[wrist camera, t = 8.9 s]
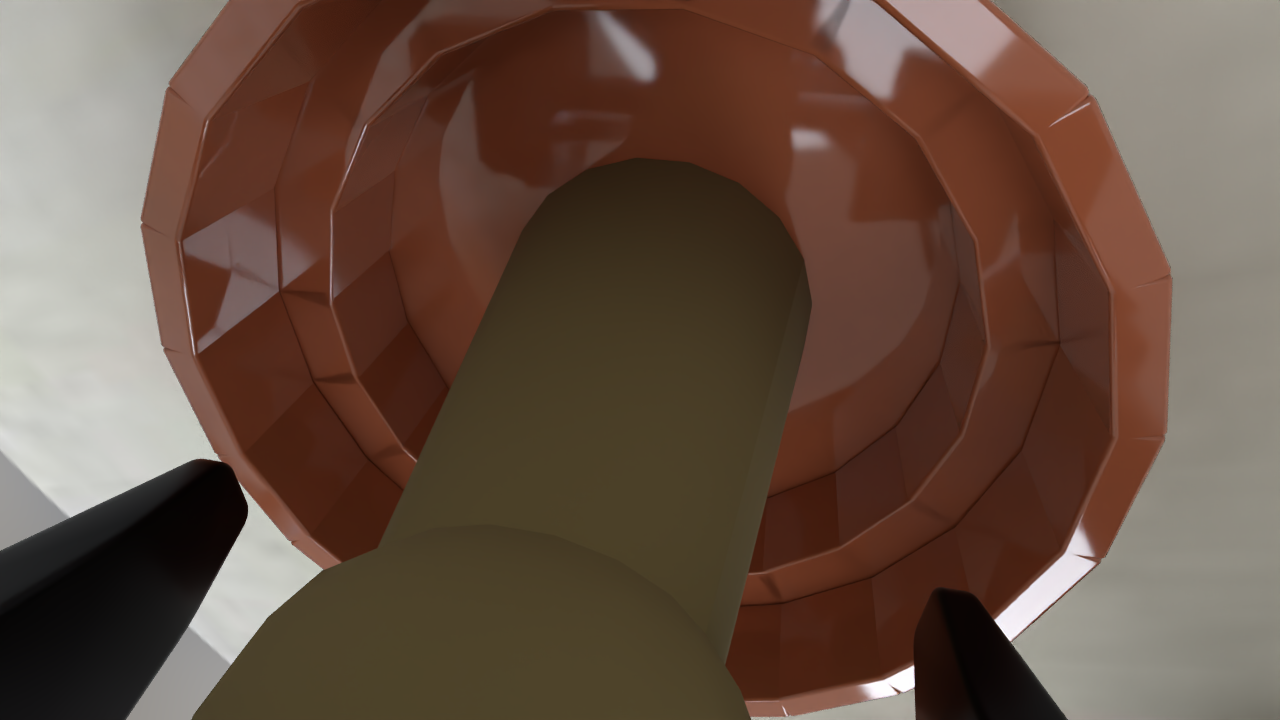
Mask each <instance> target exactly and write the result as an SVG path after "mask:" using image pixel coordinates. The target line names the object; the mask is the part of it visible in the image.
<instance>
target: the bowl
mask: <svg viewBox="0 0 1280 720" xmlns="http://www.w3.org/2000/svg"><path fill="white" fill-rule="evenodd" d="M633 158H646V159H657V160H669V161H681V162H690V163H692V164H695V165H697V166H699V167H702V168H704V169H707V170H709V171H711V172H714V173H716V174H719V175H721V176H723V177H726V178H728V179H731V180H733V181H735V182H738V183H740V184H741V185H742V186H743V187H744V188H746V189H747V190H748V191H749V192H750V193H751V194H753V195H754V196H755V197H756V198H757V199H758V200H760V201H761V202H762V203H763V204H764V205H765V206H767V207H768V208H769V209H770V210H771V211H772V212H774V213H775V214H776V215H777V216H778V217H779V218H780V220H781V221H782V223H783V225H784V226H785V228H786V230H787V231H788V233H789V235H790V236H791V238H792V240H793V241H794V243H795V245H796V247H797V248H798V250H799V252H800V253H801V255H802V257H803V258H804V261H805V267H806V272H807V278H808V283H809V289H810V294H811V299H812V308H811V314H810V319H809V324H808V329H807V335H806V340H805V345H804V349H803V353H802V357H801V362H800V366H799V370H798V374H797V378H796V382H795V386H794V390H793V394H792V398H791V402H790V406H789V410H788V414H787V418H786V422H785V426H784V430H783V434H782V438H781V442H780V446H779V450H778V454H777V458H776V462H775V466H774V470H773V474H772V478H771V482H770V486H769V491H768V495H767V499H766V503H765V507H764V511H763V515H762V519H761V523H760V527H759V531H758V535H757V539H756V543H755V547H754V551H753V555H752V559H751V563H750V567H749V571H748V575H747V579H746V583H745V587H744V591H743V595H742V599H741V603H740V607H739V611H738V616H737V620H736V624H735V628H734V632H733V636H732V640H731V644H730V648H729V652H728V656H727V660H726V664H725V666H726V668H727V669H728V671H729V673H730V674H731V676H732V677H733V679H734V681H735V682H736V684H737V685H738V687H739V689H740V690H741V693H742V696H743V698H744V701H745V704H746V707H747V710H748V712H749V715H750V717H788V716H789V715H791V716H797V715H802V714H807V713H812V712H817V711H822V710H826V709H831V708H836V707H841V706H846V705H851V704H856V703H861V702H866V701H871V700H876V699H880V698H885V697H890V696H895V695H899V694H900V692H901V693H905V692H908V691H910V690H912V689H914V688H915V682H914V653H913V644H914V634H915V630H916V627H917V624H918V622H919V620H920V618H921V615H922V613H923V611H924V608H925V606H926V604H927V602H928V599H929V597H930V595H931V593H932V591H933V590H934V589H935V588H937V587H944V588H950V589H956V590H962V591H967V592H970V593H972V594H973V595H975V596H976V597H977V598H978V599H979V600H980V602H981V603H982V604H983V606H984V607H985V609H986V610H987V611H988V613H989V614H990V615H991V617H992V618H993V619H994V621H995V622H996V623H997V625H998V626H999V627H1000V629H1001V630H1002V631H1003V633H1004V634H1005V636H1006V637H1007V638H1008V640H1009V641H1010V642H1012V641H1013V640H1015V639H1016V638H1017V637H1018V636H1019V635H1020V634H1021V633H1022V632H1024V631H1025V630H1026V629H1027V628H1028V627H1029V626H1030V625H1031V624H1033V623H1034V622H1035V621H1036V620H1037V619H1038V618H1039V617H1040V616H1041V615H1043V614H1044V613H1045V612H1046V611H1047V610H1048V609H1049V608H1050V607H1052V606H1053V605H1054V604H1055V603H1056V602H1057V601H1058V600H1059V599H1061V598H1062V597H1063V596H1064V595H1065V594H1066V593H1067V592H1068V591H1069V590H1071V589H1072V588H1073V587H1074V586H1075V585H1076V584H1077V583H1078V582H1080V581H1081V580H1082V579H1083V578H1084V577H1085V576H1086V575H1087V574H1089V573H1090V572H1091V571H1092V570H1093V569H1094V568H1095V567H1096V566H1097V565H1099V564H1100V563H1101V559H1102V558H1105V557H1106V555H1107V553H1108V551H1109V549H1110V547H1111V545H1112V543H1113V541H1114V539H1115V537H1116V535H1117V533H1118V531H1119V529H1120V527H1121V525H1122V524H1123V522H1124V520H1125V518H1126V516H1127V514H1128V512H1129V510H1130V508H1131V506H1132V504H1133V502H1134V500H1135V498H1136V496H1137V494H1138V492H1139V490H1140V488H1141V486H1142V484H1143V483H1144V481H1145V479H1146V477H1147V475H1148V473H1149V471H1150V469H1151V467H1152V465H1153V463H1154V461H1155V459H1156V457H1157V455H1158V453H1159V451H1160V449H1161V447H1162V445H1163V443H1164V441H1165V434H1166V433H1167V422H1168V394H1169V366H1170V339H1171V311H1172V283H1173V278H1172V276H1171V275H1170V271H1171V267H1170V264H1169V262H1168V260H1167V258H1166V255H1165V253H1164V251H1163V249H1162V246H1161V244H1160V242H1159V240H1158V237H1157V235H1156V233H1155V230H1154V228H1153V226H1152V224H1151V221H1150V219H1149V217H1148V215H1147V212H1146V210H1145V208H1144V206H1143V203H1142V201H1141V199H1140V197H1139V194H1138V192H1137V190H1136V188H1135V185H1134V183H1133V181H1132V179H1131V176H1130V174H1129V172H1128V170H1127V167H1126V165H1125V163H1124V160H1123V158H1122V156H1121V154H1120V151H1119V149H1118V147H1117V145H1116V142H1115V140H1114V138H1113V136H1112V133H1111V131H1110V129H1109V127H1108V124H1107V122H1106V120H1105V118H1104V115H1103V113H1102V111H1101V109H1100V106H1099V104H1098V102H1097V99H1096V98H1095V97H1094V96H1092V95H1091V94H1090V93H1089V90H1088V87H1087V86H1086V85H1085V84H1084V83H1083V82H1082V81H1081V80H1080V79H1078V78H1077V77H1076V76H1075V75H1074V74H1073V73H1072V72H1071V71H1070V70H1068V69H1067V68H1066V67H1065V66H1064V65H1063V64H1062V63H1061V62H1060V61H1058V60H1057V59H1056V58H1055V57H1054V56H1053V55H1052V54H1051V53H1049V52H1048V51H1047V50H1046V49H1045V48H1044V47H1043V46H1042V45H1041V44H1039V43H1038V42H1037V41H1036V40H1035V39H1034V38H1033V37H1032V36H1031V35H1029V34H1028V33H1027V32H1026V31H1025V30H1024V29H1023V28H1022V27H1021V26H1019V25H1018V24H1017V23H1016V22H1015V21H1014V20H1013V19H1012V18H1011V17H1009V16H1008V15H1007V14H1006V13H1005V12H1004V11H1003V10H1002V9H1000V8H999V7H998V6H997V5H996V4H995V3H994V2H993V1H992V0H229V1H228V2H227V4H226V5H225V6H224V8H223V9H222V10H221V12H220V13H219V14H218V16H217V17H216V19H215V20H214V21H213V23H212V24H211V25H210V27H209V28H208V29H207V31H206V32H205V34H204V35H203V36H202V38H201V39H200V40H199V42H198V43H197V44H196V46H195V47H194V48H193V50H192V51H191V53H190V54H189V55H188V57H187V58H186V59H185V61H184V62H183V63H182V65H181V66H180V68H179V69H178V70H177V72H176V73H175V74H174V76H173V77H172V78H171V80H170V81H169V87H168V88H167V89H166V92H165V97H164V102H163V107H162V112H161V117H160V122H159V127H158V132H157V138H156V143H155V148H154V153H153V158H152V163H151V168H150V173H149V178H148V183H147V188H146V193H145V198H144V204H143V209H142V214H141V221H142V224H141V232H142V238H143V244H144V249H145V255H146V261H147V266H148V272H149V278H150V283H151V289H152V295H153V300H154V306H155V312H156V317H157V323H158V328H159V334H160V340H161V345H162V346H163V347H164V349H163V351H164V353H165V355H166V357H167V359H168V361H169V363H170V365H171V367H172V369H173V371H174V373H175V375H176V377H177V379H178V381H179V383H180V385H181V387H182V389H183V391H184V393H185V395H186V397H187V399H188V401H189V403H190V405H191V407H192V409H193V411H194V413H195V415H196V417H197V419H198V421H199V423H200V425H201V427H202V429H203V431H204V433H205V434H206V436H207V438H208V440H209V442H210V444H211V446H212V448H213V450H214V452H215V453H216V454H218V458H219V459H220V460H221V461H222V462H224V463H227V464H228V465H230V466H231V467H232V469H233V470H234V473H235V475H236V477H237V480H238V482H239V483H240V484H241V485H242V486H243V487H244V489H245V490H246V491H247V492H248V493H249V495H250V496H251V497H252V498H253V499H254V500H255V502H256V503H257V504H258V505H259V506H260V508H261V509H262V510H263V511H264V512H265V514H266V515H267V516H268V517H269V518H270V519H271V521H272V522H273V523H274V524H275V525H276V527H277V528H278V529H279V530H280V531H281V532H282V534H283V535H284V536H285V537H286V538H287V540H289V541H292V542H291V543H292V545H293V546H295V547H296V548H297V549H298V550H300V551H301V552H302V553H303V554H305V555H306V556H307V557H308V558H310V559H311V560H312V561H313V562H315V563H316V564H317V565H318V566H320V567H321V568H322V569H323V570H325V569H327V568H330V567H332V566H335V565H337V564H340V563H342V562H345V561H347V560H350V559H352V558H355V557H357V556H360V555H362V554H364V553H367V552H369V551H372V550H374V549H377V548H378V546H379V544H380V541H381V539H382V537H383V535H384V533H385V530H386V528H387V526H388V524H389V522H390V519H391V517H392V515H393V513H394V511H395V508H396V506H397V504H398V502H399V500H400V497H401V495H402V493H403V491H404V489H405V486H406V484H407V482H408V480H409V478H410V476H411V473H412V471H413V469H414V467H415V465H416V462H417V460H418V458H419V456H420V454H421V451H422V449H423V447H424V445H425V443H426V440H427V438H428V436H429V434H430V432H431V429H432V427H433V425H434V423H435V421H436V419H437V416H438V414H439V412H440V410H441V408H442V405H443V403H444V401H445V399H446V397H447V394H448V392H449V390H450V388H451V386H452V383H453V381H454V379H455V377H456V375H457V372H458V370H459V368H460V366H461V364H462V361H463V359H464V357H465V355H466V353H467V351H468V348H469V346H470V344H471V342H472V340H473V337H474V335H475V333H476V331H477V329H478V326H479V324H480V322H481V320H482V318H483V315H484V313H485V311H486V309H487V307H488V304H489V302H490V300H491V298H492V296H493V293H494V291H495V289H496V287H497V285H498V283H499V280H500V278H501V276H502V274H503V272H504V269H505V267H506V265H507V263H508V261H509V258H510V256H511V254H512V252H513V250H514V247H515V245H516V243H517V241H518V239H519V236H520V234H521V232H522V230H523V229H524V227H525V226H526V224H527V223H528V222H529V220H530V219H531V218H532V216H533V215H534V213H535V212H536V211H537V209H538V208H539V206H540V205H541V204H542V202H543V201H544V200H545V198H546V197H547V195H549V194H550V193H552V192H553V191H555V190H556V189H558V188H559V187H561V186H562V185H564V184H565V183H567V182H568V181H570V180H572V179H573V178H575V177H576V176H578V175H579V174H581V173H582V172H584V171H585V170H587V169H591V168H595V167H599V166H603V165H608V164H612V163H616V162H620V161H624V160H628V159H633Z"/></svg>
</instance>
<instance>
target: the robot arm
mask: <svg viewBox="0 0 1280 720" xmlns="http://www.w3.org/2000/svg"><path fill="white" fill-rule="evenodd" d="M247 516H248V505H247V502H246V499H245V497H244V494H243V492H242V489H241V487H240V485H239V482H238V480H237V477H236V475H235V473H234V470H233V469H232V467H231V466H230V465H228V464H227V463H224V462H219V461H213V460H207V459H196V460H192V461H190V462H187V463H185V464H183V465H181V466H179V467H177V468H175V469H173V470H171V471H168V472H166V473H164V474H162V475H160V476H158V477H156V478H154V479H151V480H149V481H147V482H145V483H143V484H141V485H139V486H137V487H135V488H132V489H130V490H128V491H126V492H124V493H122V494H120V495H118V496H116V497H113V498H111V499H109V500H107V501H105V502H103V503H101V504H99V505H96V506H94V507H92V508H90V509H88V510H86V511H84V512H82V513H79V514H77V515H75V516H73V517H71V518H69V519H67V520H65V521H63V522H60V523H58V524H56V525H54V526H52V527H50V528H48V529H46V530H44V531H41V532H39V533H37V534H35V535H33V536H31V537H29V538H27V539H24V540H23V541H20V542H18V543H16V544H14V545H12V546H10V547H7V548H5V549H3V550H1V551H0V720H126V718H127V717H128V716H129V714H130V713H131V711H132V710H133V708H134V707H135V705H136V704H137V702H138V701H139V699H140V698H141V696H142V695H143V693H144V692H145V690H146V689H147V688H148V686H149V685H150V683H151V682H152V680H153V679H154V677H155V676H156V674H157V673H158V671H159V670H160V668H161V667H162V665H163V664H164V662H165V661H166V659H167V658H168V656H169V655H170V653H171V652H172V651H173V649H174V648H175V646H176V644H177V643H178V642H179V640H180V638H181V637H182V635H183V633H184V632H185V631H186V629H187V628H188V626H189V624H190V622H191V621H192V619H193V617H194V615H195V614H196V612H197V610H198V609H199V607H200V605H201V603H202V601H203V599H204V598H205V596H206V594H207V592H208V590H209V589H210V587H211V585H212V583H213V581H214V579H215V578H216V576H217V574H218V572H219V570H220V568H221V567H222V565H223V563H224V561H225V559H226V557H227V556H228V554H229V552H230V550H231V548H232V546H233V545H234V543H235V541H236V539H237V537H238V536H239V534H240V532H241V530H242V528H243V526H244V524H245V522H246V519H247ZM913 653H914V682H915V712H916V720H1068V719H1067V718H1066V717H1065V715H1064V714H1063V713H1062V711H1061V710H1060V709H1059V707H1058V706H1057V704H1056V703H1055V702H1054V700H1053V699H1052V698H1051V696H1050V695H1049V694H1048V692H1047V691H1046V690H1045V688H1044V687H1043V686H1042V684H1041V683H1040V681H1039V680H1038V679H1037V677H1036V676H1035V675H1034V673H1033V672H1032V671H1031V669H1030V668H1029V667H1028V665H1027V664H1026V663H1025V661H1024V660H1023V659H1022V657H1021V656H1020V654H1019V653H1018V652H1017V650H1016V649H1015V648H1014V646H1013V645H1012V644H1011V642H1010V641H1009V640H1008V638H1007V637H1006V636H1005V634H1004V633H1003V631H1002V630H1001V629H1000V627H999V626H998V625H997V623H996V622H995V621H994V619H993V618H992V617H991V615H990V614H989V613H988V611H987V610H986V609H985V607H984V606H983V604H982V603H981V602H980V600H979V599H978V598H977V597H976V596H975V595H973V594H972V593H970V592H967V591H962V590H956V589H950V588H944V587H937V588H935V589H934V590H933V591H932V593H931V595H930V597H929V599H928V602H927V604H926V606H925V608H924V611H923V613H922V615H921V618H920V620H919V622H918V624H917V627H916V630H915V634H914V644H913Z"/></svg>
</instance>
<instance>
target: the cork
mask: <svg viewBox="0 0 1280 720" xmlns="http://www.w3.org/2000/svg"><path fill="white" fill-rule="evenodd" d="M811 308H812V299H811V294H810V289H809V283H808V278H807V272H806V267H805V261H804V258H803V257H802V255H801V253H800V252H799V250H798V248H797V247H796V245H795V243H794V241H793V240H792V238H791V236H790V235H789V233H788V231H787V230H786V228H785V226H784V225H783V223H782V221H781V220H780V218H779V217H778V216H777V215H776V214H775V213H774V212H772V211H771V210H770V209H769V208H768V207H767V206H765V205H764V204H763V203H762V202H761V201H760V200H758V199H757V198H756V197H755V196H754V195H753V194H751V193H750V192H749V191H748V190H747V189H746V188H744V187H743V186H742V185H741V184H740V183H738V182H735V181H733V180H731V179H728V178H726V177H723V176H721V175H719V174H716V173H714V172H711V171H709V170H707V169H704V168H702V167H699V166H697V165H695V164H692V163H690V162H681V161H669V160H657V159H646V158H633V159H628V160H624V161H620V162H616V163H612V164H608V165H603V166H599V167H595V168H591V169H587V170H585V171H584V172H582V173H581V174H579V175H578V176H576V177H575V178H573V179H572V180H570V181H568V182H567V183H565V184H564V185H562V186H561V187H559V188H558V189H556V190H555V191H553V192H552V193H550V194H549V195H547V197H546V198H545V200H544V201H543V202H542V204H541V205H540V206H539V208H538V209H537V211H536V212H535V213H534V215H533V216H532V218H531V219H530V220H529V222H528V223H527V224H526V226H525V227H524V229H523V230H522V232H521V234H520V236H519V239H518V241H517V243H516V245H515V247H514V250H513V252H512V254H511V256H510V258H509V261H508V263H507V265H506V267H505V269H504V272H503V274H502V276H501V278H500V280H499V283H498V285H497V287H496V289H495V291H494V293H493V296H492V298H491V300H490V302H489V304H488V307H487V309H486V311H485V313H484V315H483V318H482V320H481V322H480V324H479V326H478V329H477V331H476V333H475V335H474V337H473V340H472V342H471V344H470V346H469V348H468V351H467V353H466V355H465V357H464V359H463V361H462V364H461V366H460V368H459V370H458V372H457V375H456V377H455V379H454V381H453V383H452V386H451V388H450V390H449V392H448V394H447V397H446V399H445V401H444V403H443V405H442V408H441V410H440V412H439V414H438V416H437V419H436V421H435V423H434V425H433V427H432V429H431V432H430V434H429V436H428V438H427V440H426V443H425V445H424V447H423V449H422V451H421V454H420V456H419V458H418V460H417V462H416V465H415V467H414V469H413V471H412V473H411V476H410V478H409V480H408V482H407V484H406V486H405V489H404V491H403V493H402V495H401V497H400V500H399V502H398V504H397V506H396V508H395V511H394V513H393V515H392V517H391V519H390V522H389V524H388V526H387V528H386V530H385V533H384V535H383V537H382V539H381V541H380V544H379V546H378V548H377V549H374V550H372V551H369V552H367V553H364V554H362V555H360V556H357V557H355V558H352V559H350V560H347V561H345V562H342V563H340V564H337V565H335V566H332V567H330V568H327V569H325V570H323V571H321V572H320V573H319V574H318V575H317V576H316V577H314V578H313V579H312V580H311V581H310V582H309V583H307V584H306V585H305V586H304V587H303V588H302V589H300V590H299V591H298V592H297V593H296V594H295V595H293V596H292V597H291V598H290V599H289V600H288V601H286V602H285V603H284V604H283V605H282V606H281V607H279V608H278V609H277V610H276V611H275V612H274V613H272V614H271V615H270V616H269V617H268V618H267V619H266V621H265V622H264V623H263V624H262V626H261V627H260V628H259V630H258V631H257V632H256V633H255V635H254V636H253V637H252V639H251V640H250V641H249V642H248V644H247V645H246V646H245V648H244V649H243V650H242V651H241V653H240V654H239V655H238V657H237V658H236V659H235V661H234V662H233V663H232V665H231V666H230V667H229V669H228V670H227V671H226V673H225V674H224V675H223V677H222V678H221V679H220V681H219V682H218V683H217V685H216V686H215V687H214V689H213V690H212V691H211V693H210V694H209V695H208V696H207V698H206V699H205V700H204V702H203V703H202V704H201V706H200V707H199V708H198V710H197V711H196V712H195V714H194V716H193V718H192V720H751V718H750V715H749V712H748V710H747V707H746V704H745V701H744V698H743V696H742V693H741V690H740V689H739V687H738V685H737V684H736V682H735V681H734V679H733V677H732V676H731V674H730V673H729V671H728V669H727V668H726V666H725V664H726V660H727V656H728V652H729V648H730V644H731V640H732V636H733V632H734V628H735V624H736V620H737V616H738V611H739V607H740V603H741V599H742V595H743V591H744V587H745V583H746V579H747V575H748V571H749V567H750V563H751V559H752V555H753V551H754V547H755V543H756V539H757V535H758V531H759V527H760V523H761V519H762V515H763V511H764V507H765V503H766V499H767V495H768V491H769V486H770V482H771V478H772V474H773V470H774V466H775V462H776V458H777V454H778V450H779V446H780V442H781V438H782V434H783V430H784V426H785V422H786V418H787V414H788V410H789V406H790V402H791V398H792V394H793V390H794V386H795V382H796V378H797V374H798V370H799V366H800V362H801V357H802V353H803V349H804V345H805V340H806V335H807V329H808V324H809V319H810V314H811Z"/></svg>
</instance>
